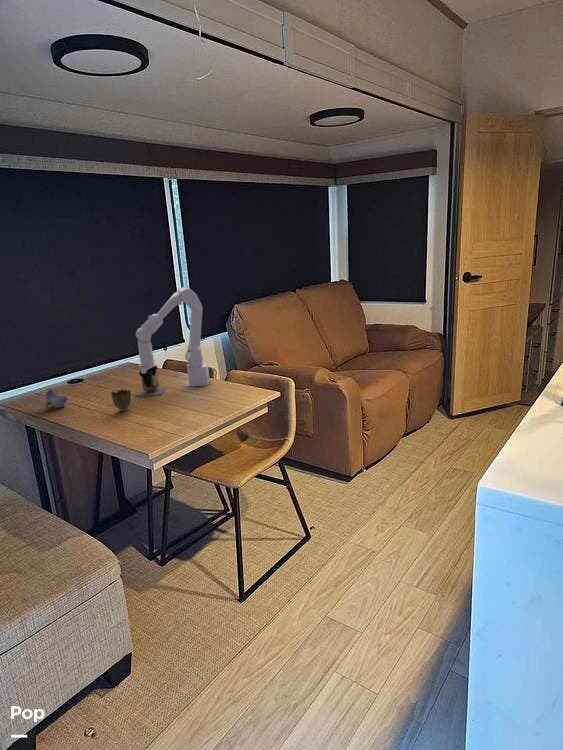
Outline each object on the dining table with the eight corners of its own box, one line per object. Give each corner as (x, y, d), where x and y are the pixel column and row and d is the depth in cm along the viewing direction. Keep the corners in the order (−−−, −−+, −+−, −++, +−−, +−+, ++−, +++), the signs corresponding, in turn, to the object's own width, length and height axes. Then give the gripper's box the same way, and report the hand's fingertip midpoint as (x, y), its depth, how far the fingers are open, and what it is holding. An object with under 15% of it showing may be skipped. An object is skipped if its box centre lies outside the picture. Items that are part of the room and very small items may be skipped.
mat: (166, 387, 220) (166, 386, 220) (160, 395, 210) (160, 394, 210) (143, 388, 221) (143, 387, 220) (135, 396, 210) (135, 395, 210)
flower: (47, 399, 192) (57, 382, 199) (33, 406, 196) (44, 389, 203) (65, 413, 197) (74, 396, 204) (51, 420, 201) (61, 402, 208)
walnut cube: (159, 386, 217) (157, 374, 216) (155, 390, 212) (153, 378, 210) (147, 387, 217) (145, 375, 216) (143, 390, 212) (141, 378, 211)
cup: (128, 406, 198) (125, 387, 196) (136, 409, 193) (133, 391, 191) (110, 411, 193) (107, 392, 191) (119, 415, 188) (116, 396, 186)
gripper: (142, 351, 217) (146, 380, 221) (132, 359, 203) (136, 390, 207) (157, 350, 217) (161, 379, 221) (148, 358, 203) (153, 389, 207)
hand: (150, 384), depth 214 cm, fingers closed on walnut cube, 6 cm apart
